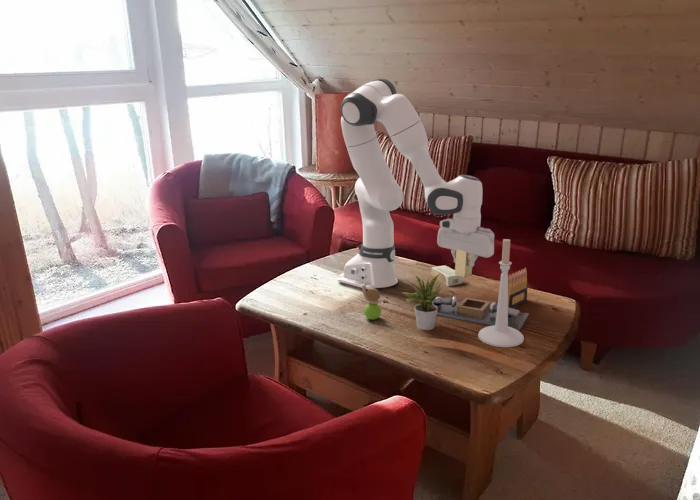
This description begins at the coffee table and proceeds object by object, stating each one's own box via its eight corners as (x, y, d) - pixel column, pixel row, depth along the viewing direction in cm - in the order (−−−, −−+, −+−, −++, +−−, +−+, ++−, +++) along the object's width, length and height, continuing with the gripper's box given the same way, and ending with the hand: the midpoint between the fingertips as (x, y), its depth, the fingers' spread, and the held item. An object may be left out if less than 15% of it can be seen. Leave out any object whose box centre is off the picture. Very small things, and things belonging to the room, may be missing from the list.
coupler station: (419, 311, 188) (419, 301, 187) (433, 299, 198) (433, 290, 197) (519, 330, 173) (520, 319, 172) (528, 316, 183) (529, 306, 182)
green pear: (365, 314, 187) (365, 278, 183) (384, 317, 184) (384, 281, 181) (358, 320, 182) (357, 284, 179) (376, 323, 179) (376, 287, 176)
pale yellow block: (464, 277, 193) (466, 249, 190) (454, 274, 196) (456, 246, 193) (471, 274, 196) (473, 247, 193) (461, 272, 198) (463, 244, 196)
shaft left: (427, 308, 188) (427, 296, 187) (429, 304, 191) (429, 292, 190) (455, 311, 185) (455, 298, 184) (456, 307, 188) (457, 294, 187)
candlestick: (533, 339, 166) (541, 239, 158) (501, 351, 160) (508, 247, 151) (499, 324, 177) (505, 230, 168) (469, 335, 170) (473, 237, 162)
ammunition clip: (509, 310, 188) (511, 275, 185) (504, 308, 189) (506, 273, 186) (526, 301, 195) (529, 267, 191) (522, 300, 196) (524, 266, 193)
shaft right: (520, 319, 178) (521, 306, 176) (514, 323, 175) (515, 310, 174) (493, 312, 183) (494, 300, 182) (487, 316, 181) (488, 303, 180)
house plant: (414, 312, 187) (415, 264, 183) (455, 320, 180) (457, 271, 176) (395, 328, 175) (395, 278, 171) (437, 338, 169) (439, 285, 164)
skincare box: (462, 285, 211) (445, 275, 222) (463, 274, 209) (446, 264, 220) (447, 288, 208) (430, 277, 219) (447, 276, 207) (431, 267, 218)
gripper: (499, 228, 186) (495, 269, 190) (446, 218, 200) (444, 256, 203) (489, 231, 182) (485, 273, 186) (435, 220, 195) (433, 260, 199)
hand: (463, 264), depth 195 cm, fingers closed on pale yellow block, 4 cm apart
